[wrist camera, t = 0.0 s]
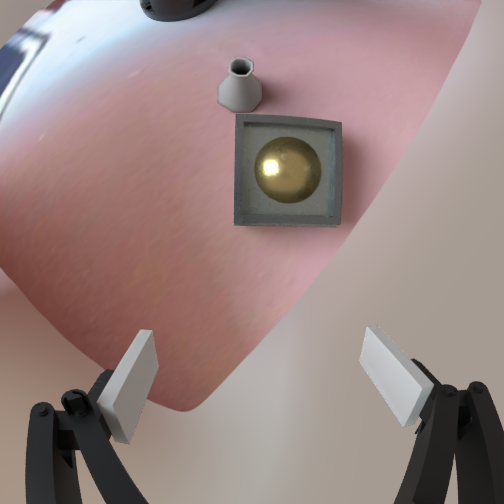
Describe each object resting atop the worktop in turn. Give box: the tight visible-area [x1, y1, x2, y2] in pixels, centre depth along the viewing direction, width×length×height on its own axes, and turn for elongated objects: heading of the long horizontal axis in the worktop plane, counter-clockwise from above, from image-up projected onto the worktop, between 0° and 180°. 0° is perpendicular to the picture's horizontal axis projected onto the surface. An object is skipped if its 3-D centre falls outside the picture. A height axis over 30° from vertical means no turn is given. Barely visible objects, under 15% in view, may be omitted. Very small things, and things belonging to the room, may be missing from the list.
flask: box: [218, 57, 262, 112], centre depth 32 cm, size 7×7×10 cm
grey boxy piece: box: [234, 114, 342, 227], centre depth 36 cm, size 15×14×8 cm
